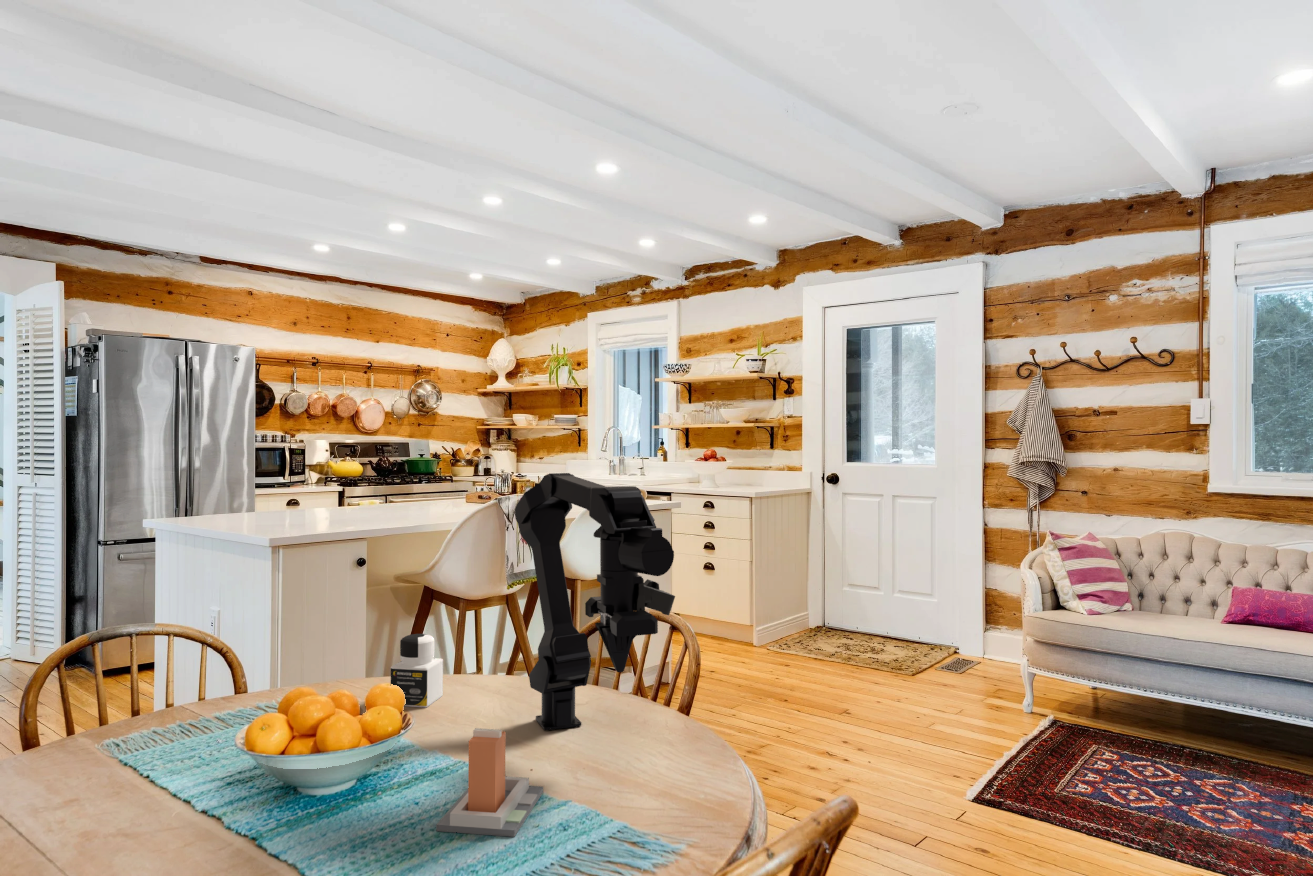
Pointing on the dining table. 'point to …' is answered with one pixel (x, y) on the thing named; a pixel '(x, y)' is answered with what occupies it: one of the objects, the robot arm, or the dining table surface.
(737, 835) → the dining table surface
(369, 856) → the dining table surface
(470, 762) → the orange juice carton
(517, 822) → the grey framed base plate
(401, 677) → the medicine bottle
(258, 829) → the dining table surface
